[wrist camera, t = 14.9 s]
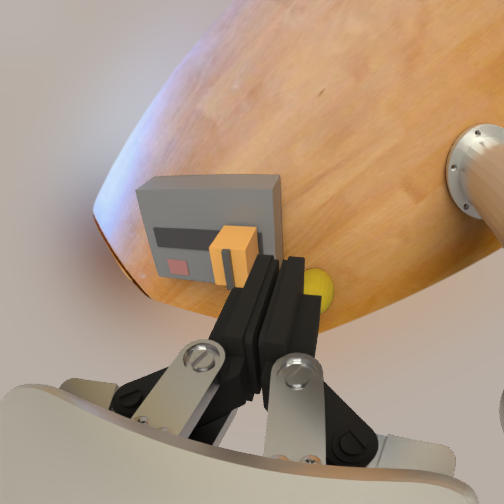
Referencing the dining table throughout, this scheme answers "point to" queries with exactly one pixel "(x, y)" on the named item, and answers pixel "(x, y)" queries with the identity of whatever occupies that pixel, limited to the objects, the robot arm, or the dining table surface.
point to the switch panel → (207, 218)
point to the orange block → (233, 255)
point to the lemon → (319, 286)
